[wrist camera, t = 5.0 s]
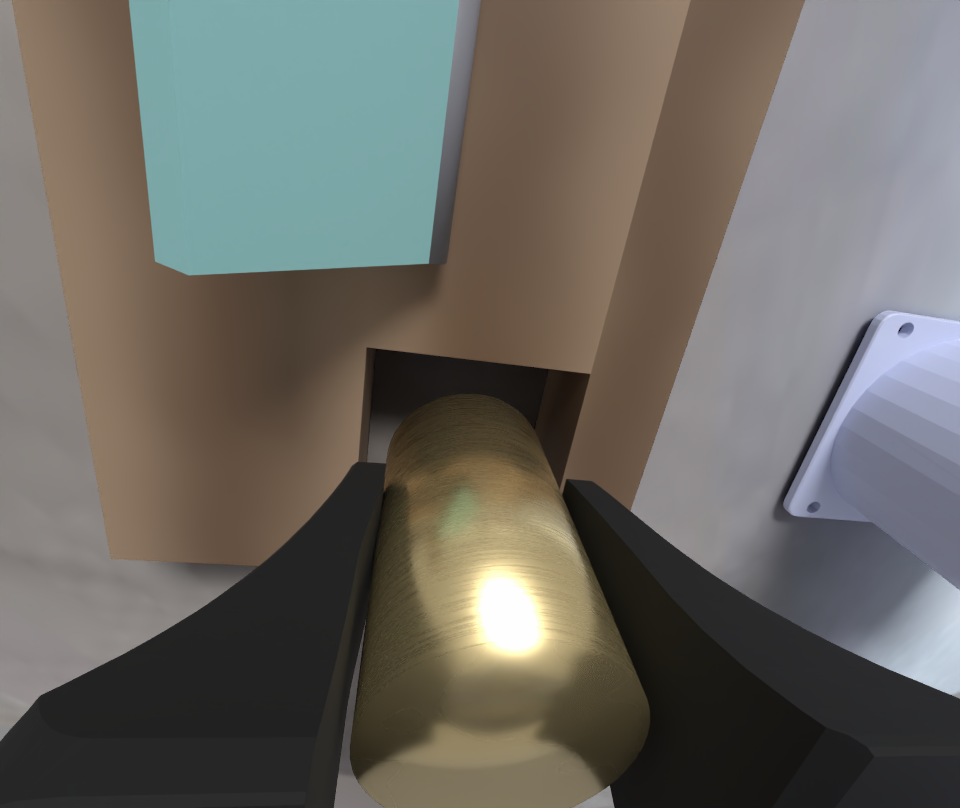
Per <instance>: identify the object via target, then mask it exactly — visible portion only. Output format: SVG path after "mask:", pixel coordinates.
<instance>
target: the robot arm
mask: <svg viewBox="0 0 960 808" xmlns="http://www.w3.org/2000/svg"><path fill="white" fill-rule="evenodd" d="M902 325H903V327H902V329H901V330H900V332H898V331H899V328H900V327H901V326H902ZM385 472H386V464H380V463H367V462H356V463H355V464H354V465H352V466H351V468H350V470H349V471H348V473H347V474H346V476H345V477H344V479H343V480H342V481H341V483H340V484H339V485H338V486H337V488H336V489H335V490H334V492H333V493H332V494H331V495H330V496H329V498H328V499H327V500H326V501H325V502H324V503H323V504H322V506H321V507H320V508H319V509H318V510H317V511H316V512H315V514H314V515H313V516H312V517H311V518H310V519H309V520H308V521H307V522H306V523H305V524H304V525H303V526H302V527H301V528H300V529H299V530H298V531H297V532H296V533H295V534H294V535H293V536H292V537H291V538H290V539H289V540H288V541H287V542H286V543H285V544H284V545H283V546H281V547H280V548H279V549H278V550H277V551H276V552H275V553H274V554H272V555H271V556H270V557H269V558H268V559H267V560H265V561H264V562H263V563H262V564H261V565H259V566H258V567H257V568H256V569H254V570H253V571H252V572H251V573H250V574H248V575H247V576H246V577H244V578H243V579H242V580H240V581H239V582H238V583H236V584H235V585H234V586H232V587H231V588H229V589H228V590H227V591H225V592H224V593H223V594H221V595H220V596H219V597H217V598H216V599H214V600H213V601H211V602H210V603H208V604H207V605H206V606H204V607H203V608H201V609H200V610H198V611H197V612H195V613H193V614H192V615H190V616H188V617H187V618H185V619H184V620H182V621H180V622H179V623H177V624H175V625H174V626H172V627H171V628H169V629H167V630H166V631H164V632H162V633H160V634H159V635H157V636H155V637H154V638H152V639H150V640H148V641H147V642H145V643H143V644H141V645H139V646H138V647H136V648H134V649H132V650H130V651H128V652H127V653H125V654H123V655H121V656H119V657H117V658H115V659H113V660H111V661H109V662H107V663H105V664H103V665H101V666H99V667H97V668H95V669H93V670H91V671H89V672H87V673H85V674H83V675H81V676H79V677H77V678H75V679H73V680H72V681H70V682H68V683H66V684H64V685H62V686H60V687H57V688H55V689H53V690H51V691H49V692H47V693H45V694H43V695H41V696H40V697H39V698H38V699H37V700H36V701H35V702H34V704H33V705H32V706H31V707H30V709H29V710H28V711H27V712H26V713H25V714H24V715H23V716H22V717H21V719H20V720H19V721H18V722H17V723H16V724H15V725H14V726H13V727H12V728H11V730H10V731H9V732H8V733H7V734H6V735H5V736H4V738H3V739H2V740H1V741H0V808H334V801H335V793H336V786H337V778H338V771H339V763H340V756H341V748H342V741H343V733H344V726H345V719H346V711H347V704H348V699H349V693H350V688H351V683H352V678H353V674H354V669H355V665H356V660H357V656H358V651H359V647H360V642H361V638H362V634H363V629H364V625H365V620H366V616H367V610H368V602H369V594H370V586H371V578H372V571H373V563H374V555H375V547H376V541H377V535H378V529H379V524H380V516H381V508H382V500H383V492H384V482H385ZM562 497H563V499H564V501H565V504H566V506H567V509H568V511H569V513H570V516H571V518H572V521H573V523H574V525H575V528H576V530H577V533H578V535H579V537H580V540H581V542H582V544H583V547H584V549H585V552H586V554H587V556H588V559H589V561H590V564H591V566H592V568H593V571H594V573H595V575H596V578H597V580H598V583H599V585H600V587H601V590H602V592H603V595H604V597H605V599H606V602H607V604H608V607H609V609H610V611H611V614H612V616H613V618H614V621H615V623H616V626H617V628H618V630H619V633H620V635H621V638H622V640H623V642H624V645H625V647H626V649H627V652H628V654H629V657H630V659H631V661H632V664H633V666H634V669H635V671H636V673H637V676H638V678H639V681H640V683H641V685H642V688H643V690H644V692H645V695H646V697H647V700H648V704H649V709H650V726H649V731H648V735H647V738H646V740H645V743H644V745H643V747H642V749H641V751H640V752H639V754H638V756H637V758H636V759H635V760H634V761H633V763H632V764H631V765H630V766H629V768H628V769H627V770H626V771H625V772H624V773H623V774H622V775H621V776H620V777H619V778H618V779H616V780H615V781H614V782H613V783H611V784H610V788H611V793H612V798H613V802H614V807H615V808H960V699H959V698H956V697H954V696H952V695H949V694H947V693H945V692H942V691H940V690H937V689H935V688H932V687H930V686H927V685H925V684H923V683H920V682H918V681H915V680H913V679H910V678H908V677H906V676H903V675H901V674H898V673H896V672H893V671H891V670H889V669H886V668H884V667H882V666H880V665H877V664H875V663H873V662H871V661H869V660H867V659H865V658H862V657H860V656H858V655H856V654H854V653H852V652H850V651H848V650H845V649H843V648H841V647H839V646H837V645H835V644H833V643H831V642H829V641H827V640H825V639H823V638H821V637H819V636H817V635H815V634H813V633H811V632H809V631H807V630H805V629H803V628H802V627H800V626H798V625H796V624H794V623H792V622H791V621H789V620H787V619H785V618H783V617H782V616H780V615H778V614H776V613H774V612H772V611H771V610H769V609H767V608H765V607H764V606H762V605H760V604H759V603H757V602H755V601H754V600H752V599H750V598H749V597H747V596H745V595H744V594H742V593H741V592H739V591H738V590H736V589H734V588H733V587H731V586H730V585H728V584H727V583H725V582H723V581H722V580H720V579H719V578H717V577H716V576H714V575H713V574H711V573H710V572H708V571H707V570H705V569H704V568H703V567H701V566H700V565H698V564H697V563H696V562H694V561H693V560H692V559H690V558H689V557H688V556H686V555H685V554H683V553H682V552H681V551H679V550H678V549H677V548H675V547H674V546H673V545H672V544H670V543H669V542H668V541H666V540H665V539H664V538H663V537H661V536H660V535H659V534H657V533H656V532H655V531H654V530H653V529H651V528H650V527H649V526H648V525H646V524H645V523H644V522H643V521H641V520H640V519H639V518H638V517H637V516H635V515H634V514H633V513H632V512H631V511H629V510H628V509H627V508H626V507H625V506H623V505H622V504H621V503H620V502H619V501H617V500H616V499H615V498H614V497H612V496H611V495H610V494H609V493H608V492H606V491H605V490H604V489H602V488H601V487H600V486H598V485H597V484H596V483H594V482H593V481H587V480H575V479H566V482H565V486H564V489H563V493H562ZM809 504H810V505H809ZM783 506H784V508H785V509H786V510H787V511H788V512H789V513H790V514H791V515H792V516H797V517H810V518H823V519H836V520H849V521H862V522H873V523H874V524H875V525H877V526H878V527H879V528H880V529H882V530H883V531H884V532H886V533H887V534H888V535H889V536H891V537H892V538H893V539H895V540H896V541H897V542H898V543H900V544H901V545H902V546H904V547H905V548H906V549H907V550H909V551H910V552H911V553H913V554H914V555H915V556H916V557H918V558H919V559H920V560H922V561H923V562H924V563H925V564H927V565H928V566H929V567H931V568H932V569H933V570H934V571H936V572H937V573H938V574H940V575H941V576H942V577H943V578H945V579H946V580H947V581H949V582H950V583H951V584H952V585H954V586H955V587H956V588H958V589H959V590H960V321H955V320H949V319H942V318H936V317H929V316H923V315H916V314H910V313H904V312H897V311H884V312H882V313H880V314H879V315H877V316H876V317H875V318H874V319H873V321H872V322H871V324H870V326H869V328H868V330H867V332H866V334H865V336H864V338H863V340H862V342H861V344H860V346H859V348H858V350H857V352H856V354H855V356H854V359H853V361H852V363H851V365H850V367H849V369H848V371H847V373H846V375H845V377H844V379H843V381H842V383H841V385H840V387H839V389H838V391H837V393H836V395H835V397H834V399H833V401H832V404H831V406H830V408H829V410H828V412H827V414H826V416H825V418H824V420H823V422H822V424H821V426H820V428H819V430H818V432H817V434H816V436H815V438H814V440H813V442H812V444H811V446H810V449H809V451H808V453H807V455H806V457H805V459H804V461H803V463H802V465H801V467H800V469H799V471H798V473H797V475H796V477H795V479H794V481H793V483H792V485H791V487H790V489H789V491H788V494H787V496H786V498H785V500H784V503H783Z"/></svg>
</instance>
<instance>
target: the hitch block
mask: <svg viewBox="0 0 960 808" xmlns="http://www.w3.org/2000/svg"><path fill="white" fill-rule="evenodd" d="M804 2H805V0H481V4H480V12H479V19H478V27H477V35H476V42H475V50H474V58H473V66H472V73H471V81H470V89H469V96H468V104H467V112H466V119H465V127H464V135H463V142H462V150H461V158H460V165H459V173H458V181H457V189H456V196H455V204H454V212H453V219H452V227H451V235H450V242H449V250H448V258H447V263H446V264H411V265H391V266H370V267H350V268H330V269H309V270H289V271H269V272H248V273H228V274H207V275H187V274H184V273H182V272H179V271H177V270H174V269H172V268H170V267H167V266H165V265H162V264H160V263H158V262H155V256H154V246H153V236H152V226H151V216H150V206H149V196H148V186H147V176H146V166H145V156H144V146H143V137H142V127H141V117H140V107H139V97H138V87H137V77H136V67H135V57H134V47H133V37H132V27H131V17H130V7H129V0H12V4H13V10H14V15H15V21H16V27H17V32H18V38H19V44H20V49H21V55H22V60H23V66H24V72H25V77H26V83H27V89H28V94H29V100H30V106H31V111H32V117H33V122H34V128H35V134H36V139H37V145H38V151H39V156H40V162H41V168H42V173H43V179H44V185H45V190H46V196H47V201H48V207H49V213H50V218H51V224H52V230H53V235H54V241H55V247H56V252H57V258H58V264H59V269H60V275H61V280H62V286H63V292H64V297H65V303H66V309H67V314H68V320H69V326H70V331H71V337H72V342H73V348H74V354H75V359H76V365H77V371H78V376H79V382H80V388H81V393H82V399H83V405H84V410H85V416H86V421H87V427H88V433H89V438H90V444H91V450H92V455H93V461H94V467H95V472H96V478H97V484H98V489H99V495H100V500H101V506H102V512H103V517H104V523H105V529H106V534H107V540H108V546H109V551H110V557H111V559H124V560H144V561H165V562H185V563H205V564H226V565H246V566H259V565H261V564H262V563H263V562H264V561H265V560H267V559H268V558H269V557H270V556H271V555H272V554H274V553H275V552H276V551H277V550H278V549H279V548H280V547H281V546H283V545H284V544H285V543H286V542H287V541H288V540H289V539H290V538H291V537H292V536H293V535H294V534H295V533H296V532H297V531H298V530H299V529H300V528H301V527H302V526H303V525H304V524H305V523H306V522H307V521H308V520H309V519H310V518H311V517H312V516H313V515H314V514H315V512H316V511H317V510H318V509H319V508H320V507H321V506H322V504H323V503H324V502H325V501H326V500H327V499H328V498H329V496H330V495H331V494H332V493H333V492H334V490H335V489H336V488H337V486H338V485H339V484H340V483H341V481H342V480H343V479H344V477H345V476H346V474H347V473H348V471H349V470H350V468H351V466H352V465H354V464H355V463H356V462H367V454H368V441H369V429H370V416H371V403H372V391H373V378H374V366H375V353H376V348H377V349H385V350H394V351H402V352H411V353H419V354H428V355H436V356H444V357H453V358H461V359H470V360H478V361H486V362H495V363H503V364H512V365H520V366H529V367H537V368H545V369H549V370H548V374H547V379H546V383H545V387H544V392H543V396H542V401H541V405H540V409H539V414H538V418H537V422H536V427H535V433H536V435H537V437H538V439H539V442H540V444H541V447H542V449H543V451H544V454H545V456H546V459H547V461H548V463H549V466H550V468H551V470H552V473H553V475H554V478H555V480H556V482H557V485H558V487H559V490H560V492H561V494H562V493H563V489H564V486H565V482H566V479H575V480H587V481H593V482H594V483H596V484H597V485H598V486H600V487H601V488H602V489H604V490H605V491H606V492H608V493H609V494H610V495H611V496H612V497H614V498H615V499H616V500H617V501H619V502H620V503H621V504H622V505H623V506H625V507H626V508H627V509H628V510H629V511H630V510H631V507H632V504H633V501H634V498H635V495H636V492H637V489H638V486H639V484H640V481H641V478H642V475H643V472H644V469H645V466H646V463H647V460H648V457H649V454H650V451H651V448H652V446H653V443H654V440H655V437H656V434H657V431H658V428H659V425H660V422H661V419H662V416H663V413H664V411H665V408H666V405H667V402H668V399H669V396H670V393H671V390H672V387H673V384H674V381H675V378H676V375H677V373H678V370H679V367H680V364H681V361H682V358H683V355H684V352H685V349H686V346H687V343H688V340H689V337H690V335H691V332H692V329H693V326H694V323H695V320H696V317H697V314H698V311H699V308H700V305H701V302H702V300H703V297H704V294H705V291H706V288H707V285H708V282H709V279H710V276H711V273H712V270H713V267H714V264H715V262H716V259H717V256H718V253H719V250H720V247H721V244H722V241H723V238H724V235H725V232H726V229H727V226H728V224H729V221H730V218H731V215H732V212H733V209H734V206H735V203H736V200H737V197H738V194H739V191H740V189H741V186H742V183H743V180H744V177H745V174H746V171H747V168H748V165H749V162H750V159H751V156H752V153H753V151H754V148H755V145H756V142H757V139H758V136H759V133H760V130H761V127H762V124H763V121H764V118H765V115H766V113H767V110H768V107H769V104H770V101H771V98H772V95H773V92H774V89H775V86H776V83H777V80H778V77H779V75H780V72H781V69H782V66H783V63H784V60H785V57H786V54H787V51H788V48H789V45H790V42H791V40H792V37H793V34H794V31H795V28H796V25H797V22H798V19H799V16H800V13H801V10H802V7H803V4H804Z"/></svg>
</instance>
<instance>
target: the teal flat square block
mask: <svg viewBox="0 0 960 808" xmlns="http://www.w3.org/2000/svg"><path fill="white" fill-rule="evenodd" d="M480 4H481V0H129V7H130V17H131V27H132V37H133V47H134V57H135V67H136V77H137V87H138V97H139V107H140V117H141V127H142V137H143V146H144V156H145V166H146V176H147V186H148V196H149V206H150V216H151V226H152V236H153V246H154V256H155V262H158V263H160V264H162V265H165V266H167V267H170V268H172V269H174V270H177V271H179V272H182V273H184V274H187V275H207V274H228V273H248V272H269V271H289V270H309V269H330V268H350V267H370V266H391V265H411V264H446V263H447V258H448V250H449V242H450V235H451V227H452V219H453V212H454V204H455V196H456V189H457V181H458V173H459V165H460V158H461V150H462V142H463V135H464V127H465V119H466V112H467V104H468V96H469V89H470V81H471V73H472V66H473V58H474V50H475V42H476V35H477V27H478V19H479V12H480Z"/></svg>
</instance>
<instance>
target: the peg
mask: <svg viewBox="0 0 960 808" xmlns="http://www.w3.org/2000/svg"><path fill="white" fill-rule="evenodd" d="M649 726H650V709H649V704H648V700H647V697H646V695H645V692H644V690H643V688H642V685H641V683H640V681H639V678H638V676H637V673H636V671H635V669H634V666H633V664H632V661H631V659H630V657H629V654H628V652H627V649H626V647H625V645H624V642H623V640H622V638H621V635H620V633H619V630H618V628H617V626H616V623H615V621H614V618H613V616H612V614H611V611H610V609H609V607H608V604H607V602H606V599H605V597H604V595H603V592H602V590H601V587H600V585H599V583H598V580H597V578H596V575H595V573H594V571H593V568H592V566H591V564H590V561H589V559H588V556H587V554H586V552H585V549H584V547H583V544H582V542H581V540H580V537H579V535H578V533H577V530H576V528H575V525H574V523H573V521H572V518H571V516H570V513H569V511H568V509H567V506H566V504H565V501H564V499H563V497H562V494H561V492H560V490H559V487H558V485H557V482H556V480H555V478H554V475H553V473H552V470H551V468H550V466H549V463H548V461H547V459H546V456H545V454H544V451H543V449H542V447H541V444H540V442H539V439H538V437H537V435H536V433H535V430H534V428H533V427H532V425H531V424H530V422H529V421H528V420H527V419H526V418H525V417H524V415H523V414H521V413H520V412H519V411H518V410H517V409H516V408H514V407H512V406H511V405H509V404H508V403H506V402H503V401H501V400H499V399H496V398H493V397H490V396H485V395H480V394H455V395H450V396H445V397H442V398H439V399H435V400H433V401H431V402H429V403H427V404H425V405H423V406H421V407H420V408H418V409H417V410H415V411H414V412H413V413H412V414H410V415H409V416H408V417H407V418H406V419H405V420H404V421H403V422H402V423H401V425H400V426H399V428H398V429H397V430H396V432H395V434H394V436H393V438H392V440H391V443H390V446H389V449H388V454H387V461H386V472H385V482H384V492H383V500H382V508H381V516H380V524H379V529H378V535H377V541H376V547H375V555H374V563H373V571H372V578H371V586H370V594H369V602H368V610H367V618H366V625H365V633H364V641H363V649H362V657H361V665H360V673H359V680H358V688H357V696H356V704H355V712H354V720H353V727H352V735H351V743H350V761H351V765H352V770H353V772H354V775H355V777H356V779H357V780H358V783H359V784H360V785H361V787H362V788H363V789H364V791H365V792H366V793H367V794H368V795H369V796H370V797H371V798H372V799H374V800H375V801H376V802H377V803H379V804H380V805H382V806H383V807H385V808H572V807H574V806H576V805H578V804H580V803H582V802H584V801H586V800H587V799H589V798H591V797H593V796H594V795H596V794H597V793H599V792H601V791H602V790H604V789H605V788H606V787H608V786H609V785H610V784H611V783H613V782H614V781H615V780H616V779H618V778H619V777H620V776H621V775H622V774H623V773H624V772H625V771H626V770H627V769H628V768H629V766H630V765H631V764H632V763H633V761H634V760H635V759H636V758H637V756H638V754H639V752H640V751H641V749H642V747H643V745H644V743H645V740H646V738H647V735H648V731H649Z"/></svg>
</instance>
